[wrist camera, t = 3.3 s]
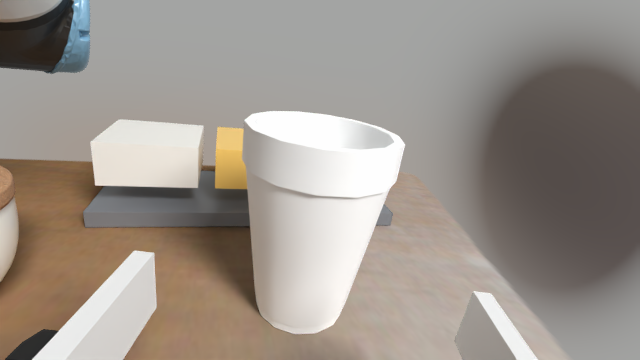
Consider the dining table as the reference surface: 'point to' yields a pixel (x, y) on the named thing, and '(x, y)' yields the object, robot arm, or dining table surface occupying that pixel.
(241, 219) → the keypad base
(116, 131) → the key
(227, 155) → the amber key
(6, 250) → the lidded jar
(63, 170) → the dining table surface
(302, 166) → the foam cup
